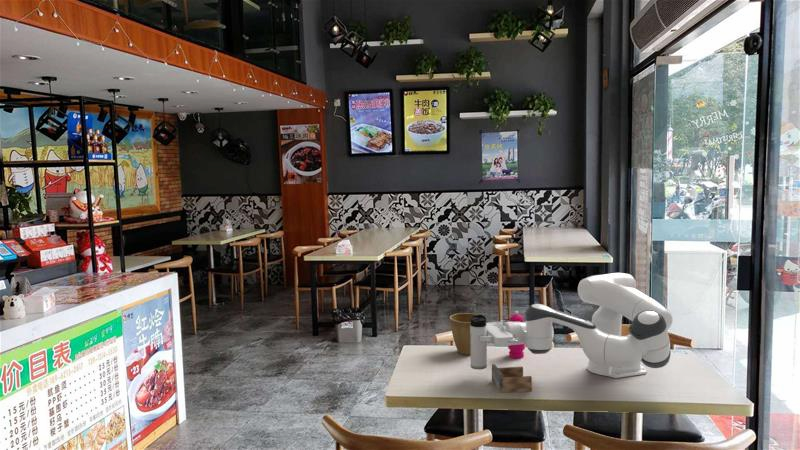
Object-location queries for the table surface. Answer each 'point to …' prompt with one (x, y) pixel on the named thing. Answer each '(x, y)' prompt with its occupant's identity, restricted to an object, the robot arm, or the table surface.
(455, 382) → the table surface
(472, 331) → the travel mug
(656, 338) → the robot arm
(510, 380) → the cradle
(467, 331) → the plant pot
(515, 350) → the pepper mill
